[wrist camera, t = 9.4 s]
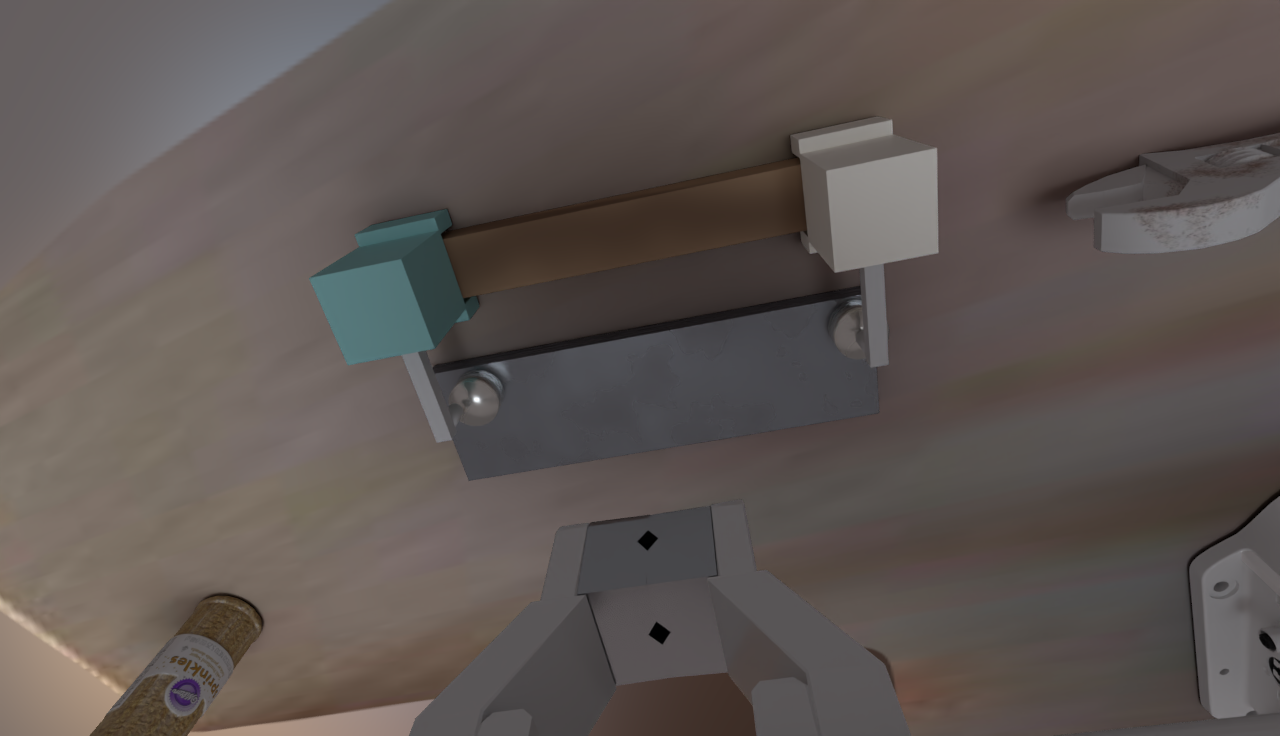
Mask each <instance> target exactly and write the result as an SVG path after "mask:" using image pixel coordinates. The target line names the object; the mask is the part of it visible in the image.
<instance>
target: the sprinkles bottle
mask: <svg viewBox="0 0 1280 736" xmlns="http://www.w3.org/2000/svg"><path fill="white" fill-rule="evenodd" d="M261 629H262V621H261V619H260V616H259V615H258V614H257V613H256V611H255V609H254V608H252V607H251V606H250V605H248V604H247V603H245V602H244V601H242V600H240V599H237V598H234V597H231V596H213V597H210V598H207V599H205V600H203V601H201V602H200V603H199V605H198V606H197V607H196V609H195V611H194V613H193V614H192V616H191V617H190V618H189V619H188V620H187V621H186V622H185V624H184V625H183V626H182V627H181V628H180V630H179V631H178V632H177V633H176V634H175V635H174V637H173V638H172V639H170V640H169V641H168V642H167V643H166V644H165V646H164V647H163V648H162V649H161V650H160V651H159V653H158V654H157V655H156V656H155V657H154V659H153V660H152V661H151V662H150V663H149V665H148V666H147V667H146V668H145V669H144V671H143V672H142V673H141V674H140V675H139V677H138V678H137V679H136V680H135V681H134V682H133V684H132V685H131V686H130V687H129V688H128V689H127V691H126V692H125V693H124V694H123V695H122V696H121V698H120V699H119V700H118V701H117V702H116V703H115V705H114V706H113V707H112V708H111V709H110V711H109V712H108V713H107V714H106V716H105V718H104V719H103V721H102V722H101V723H100V724H99V725H98V726H97V727H96V729H95V730H94V731H93V732H92V733H91V734H90V736H187V735H188V734H189V732H190V731H191V729H192V728H193V727H194V725H195V724H196V722H197V721H198V719H199V718H201V717H202V716H203V714H204V713H205V712H206V710H207V709H208V707H209V706H210V704H211V703H212V702H213V700H214V699H215V697H216V696H217V695H218V693H219V692H220V690H221V689H222V687H223V686H224V684H225V683H226V682H227V680H228V679H229V677H230V676H231V674H232V672H233V670H234V668H235V667H236V665H237V664H238V663H239V661H240V660H241V658H242V657H243V655H244V654H245V652H246V651H247V650H248V648H249V647H250V645H251V644H252V643H253V642H254V641H256V639H257V638H258V637H259V636H260V633H261Z"/></svg>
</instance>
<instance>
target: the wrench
mask: <svg viewBox="0 0 1280 736" xmlns="http://www.w3.org/2000/svg"><path fill="white" fill-rule="evenodd" d="M1066 213H1067V215H1068V216H1069V217H1070V218H1072V219H1073V220H1079V219H1086V218H1094V248H1096V249H1098V250H1100V251H1102V252H1110V253H1121V254H1152V253H1166V252H1175V251H1184V250H1194V249H1203V248H1207V247H1211V246H1216V245H1220V244H1224V243H1228V242H1232V241H1237V240H1240V239H1242V238H1245V237H1248V236H1250V235H1253V234H1256V233H1258V232H1259V231H1261V230H1262V229H1264V228H1265V227H1266V226H1267V225H1269V224H1270V223H1271V222H1272V221H1274V220H1275V219H1277V218H1278V217H1279V216H1280V133H1276V134H1271V135H1267V136H1262V137H1257V138H1252V139H1248V140H1242V141H1236V142H1230V143H1224V144H1218V145H1212V146H1206V147H1200V148H1194V149H1188V150H1181V151H1170V152H1158V153H1146V154H1141V155H1139V166H1138V167H1135V168H1131V169H1128V170H1125V171H1122V172H1118V173H1115V174H1112V175H1109V176H1106V177H1104V178H1101V179H1099V180H1097V181H1094V182H1092V183H1090V184H1087V185H1085V186H1084V187H1082V188H1080V189H1078V190H1076V191H1074V192H1073V193H1071V194H1070V195H1069V196H1068V197H1067V198H1066Z"/></svg>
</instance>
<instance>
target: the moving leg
mask: <svg viewBox="0 0 1280 736" xmlns="http://www.w3.org/2000/svg"><path fill="white" fill-rule="evenodd" d="M451 225H452V222H451V219H450V216H449V213H448V210H447V209H444V210H439V211H435V212H430V213H425V214H421V215H416V216H411V217H407V218H402V219H397V220H393V221H388V222H383V223H379V224H374V225H371V226H369V227H367V228H365V229H364V230H362V231H360V232H358V233H357V234H355V237H356V240H357V242H358V245H359V248H357V249H355V250H354V251H352V252H351V253H349V254H347V255H346V256H344V257H342V258H341V259H339V260H338V261H336V262H334V263H333V264H331V265H330V266H328V267H326V268H325V269H323V270H322V271H320V272H318V273H317V274H315V275H313V276H312V277H310V278H309V279H310V281H311V284H312V286H313V288H314V290H315V293H316V295H317V297H318V299H319V302H320V304H321V306H322V308H323V311H324V313H325V315H326V317H327V320H328V322H329V324H330V326H331V329H332V331H333V333H334V335H335V338H336V340H337V342H338V344H339V347H340V349H341V351H342V353H343V356H344V358H345V360H346V362H347V365H352V364H357V363H362V362H368V361H373V360H378V359H383V358H389V357H394V356H399V355H402V357H403V360H404V362H405V365H406V367H407V370H408V372H409V375H410V377H411V380H412V382H413V385H414V387H415V390H416V392H417V395H418V397H419V400H420V402H421V405H422V407H423V410H424V412H425V415H426V417H427V419H428V422H429V424H430V427H431V429H432V432H433V434H434V437H435V439H436V442H443V441H449V440H453V438H454V436H455V434H456V432H457V430H456V428H455V427H456V425H457V423H458V422H459V420H460V418H461V416H462V414H463V408H462V406H460V405H459V404H451V405H450V406H449V407H447V404H446V402H445V399H444V397H443V394H442V391H441V389H440V386H439V384H438V381H437V378H436V376H435V373H434V371H433V368H432V365H431V363H430V360H429V358H428V355H427V352H426V350H431V349H435V348H436V347H437V345H438V344H439V343H440V341H441V340H442V339H443V338H444V336H445V335H446V334H447V332H448V331H449V330H450V329H451V327H452V326H453V325H454V323H457V322H462V321H467V320H470V319H471V317H472V316H473V315H474V313H475V312H476V311H477V309H478V308H479V303H478V300H477V297H476V296H472V297H467V298H463V297H462V294H461V291H460V288H459V286H458V283H457V280H456V277H455V274H454V271H453V268H452V265H451V262H450V259H449V257H448V254H447V251H446V248H445V245H444V242H443V239H442V236H441V233H442V232H444V231H445V230H446V229H447V228H449V227H450V226H451Z"/></svg>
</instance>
